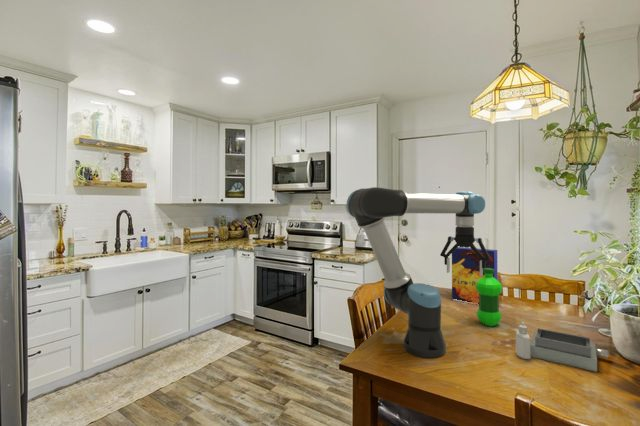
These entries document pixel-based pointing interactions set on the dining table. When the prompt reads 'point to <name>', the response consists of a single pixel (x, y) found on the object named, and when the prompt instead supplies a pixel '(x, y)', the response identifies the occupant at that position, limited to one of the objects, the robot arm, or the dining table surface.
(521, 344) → the eye dropper bottle
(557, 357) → the grey rectangular open box
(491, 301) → the plastic bottle
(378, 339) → the dining table surface
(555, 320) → the dining table surface
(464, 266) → the cereal box
